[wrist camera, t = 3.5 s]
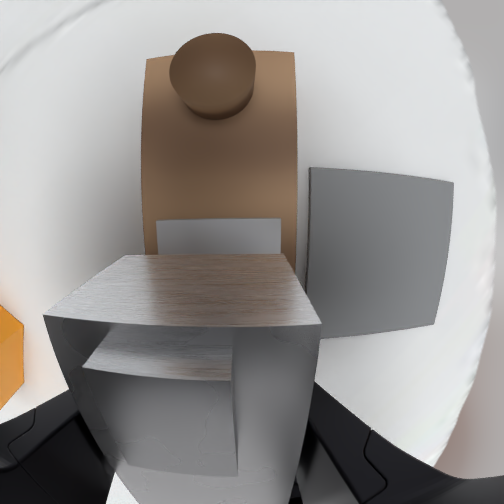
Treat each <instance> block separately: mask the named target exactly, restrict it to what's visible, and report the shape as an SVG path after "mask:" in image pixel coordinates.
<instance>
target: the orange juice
mask: <svg viewBox="0 0 504 504" xmlns="http://www.w3.org/2000/svg"><path fill="white" fill-rule="evenodd" d="M23 332H24V325H23V324H22V323H20V322H19V321H18V320H17V319H16V318H15V317H13V316H12V315H11V314H10V313H9V312H8V311H6V310H5V309H4V308H3V307H2V306H1V305H0V410H1V409H2V407H3V406H4V405H5V404H6V403H7V401H8V400H9V399H10V398H11V397H12V396H13V395H14V393H15V392H16V391H17V390H18V389H19V388H20V387H21V385H22V384H23V383H24V371H23Z"/></svg>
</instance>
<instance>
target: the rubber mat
mask: <svg viewBox="0 0 504 504" xmlns="http://www.w3.org/2000/svg"><path fill="white" fill-rule="evenodd" d="M453 191H454V183H453V182H447V181H441V180H435V179H428V178H421V177H414V176H407V175H398V174H390V173H381V172H371V171H359V170H347V169H332V168H314V167H311V168H310V192H309V234H308V259H307V278H306V295H307V297H308V299H309V301H310V303H311V304H312V306H313V308H314V310H315V312H316V314H317V316H318V317H319V319H320V321H321V323H322V327H321V336H320V339H324V338H336V337H347V336H357V335H366V334H374V333H382V332H389V331H397V330H403V329H410V328H416V327H422V326H428V325H433V324H434V322H435V318H436V314H437V310H438V305H439V301H440V296H441V292H442V287H443V281H444V276H445V270H446V264H447V258H448V251H449V243H450V234H451V224H452V211H453Z"/></svg>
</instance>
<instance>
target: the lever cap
mask: <svg viewBox="0 0 504 504" xmlns="http://www.w3.org/2000/svg"><path fill="white" fill-rule="evenodd" d="M43 317H44V321H45V324H46V328H47V331H48V334H49V337H50V340H51V343H52V346H53V349H54V352H55V355H56V357H57V360H58V363H59V365H60V368H61V371H62V373H63V375H64V378H65V380H66V383H67V385H68V387H69V390H70V392H71V394H72V396H73V398H74V401H75V403H76V405H77V407H78V409H79V411H80V413H81V415H82V417H83V419H84V421H85V423H86V424H87V426H88V428H89V430H90V432H91V434H92V435H93V437H94V439H95V441H96V442H97V444H98V446H99V447H100V449H101V451H102V452H103V454H104V455H105V457H106V459H107V460H108V462H109V463H110V465H111V466H112V468H113V469H114V471H115V472H116V474H117V475H118V477H119V478H120V479H121V481H122V482H123V484H124V485H125V486H126V488H127V489H128V490H129V492H130V493H131V494H132V496H133V497H134V498H135V499H136V501H137V502H138V503H139V504H288V503H289V499H290V495H291V491H292V488H293V484H294V480H295V476H296V472H297V467H298V463H299V459H300V454H301V450H302V445H303V440H304V435H305V430H306V425H307V420H308V415H309V409H310V404H311V398H312V392H313V386H314V379H315V373H316V366H317V359H318V352H319V344H320V336H321V327H322V323H321V321H320V319H319V317H318V316H317V314H316V312H315V310H314V308H313V306H312V304H311V303H310V301H309V299H308V297H307V295H306V293H305V292H304V290H303V288H302V286H301V284H300V282H299V281H298V279H297V277H296V275H295V273H294V271H293V270H292V268H291V266H290V264H289V262H288V261H287V259H286V257H285V255H284V254H193V255H124V256H123V257H121V258H120V259H119V260H117V261H116V262H114V263H113V264H111V265H110V266H108V267H107V268H105V269H104V270H102V271H101V272H100V273H98V274H97V275H95V276H94V277H92V278H91V279H90V280H88V281H87V282H85V283H84V284H83V285H81V286H80V287H79V288H77V289H76V290H74V291H73V292H72V293H70V294H69V295H68V296H66V297H65V298H64V299H62V300H61V301H60V302H58V303H57V304H56V305H54V306H53V307H52V308H50V309H49V310H48V311H46V312H45V313H44V314H43Z"/></svg>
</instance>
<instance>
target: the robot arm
mask: <svg viewBox="0 0 504 504" xmlns="http://www.w3.org/2000/svg"><path fill="white" fill-rule="evenodd" d="M114 473H115V471H114V469H113V468H112V466H111V465H110V463H109V462H108V460H107V459H106V457H105V455H104V454H103V452H102V451H101V449H100V447H99V446H98V444H97V442H96V441H95V439H94V437H93V435H92V434H91V432H90V430H89V428H88V426H87V424H86V423H85V421H84V419H83V417H82V415H81V413H80V411H79V409H78V407H77V405H76V403H75V401H74V398H73V396H72V394H71V392H70V390H67V391H65V392H63V393H61V394H60V395H58V396H56V397H54V398H52V399H50V400H48V401H47V402H45V403H43V404H41V405H39V406H37V407H36V408H33V409H32V410H30V411H28V412H26V413H24V414H22V415H20V416H18V417H16V418H14V419H11V420H9V421H7V422H4V423H2V424H0V504H106V501H107V497H108V494H109V490H110V487H111V483H112V480H113V476H114ZM288 504H504V475H503V476H497V477H488V478H478V479H462V478H457V477H453V476H450V475H448V474H445V473H443V472H441V471H439V470H437V469H435V468H433V467H431V466H430V465H428V464H426V463H424V462H422V461H420V460H418V459H416V458H415V457H413V456H411V455H409V454H408V453H406V452H404V451H403V450H401V449H399V448H398V447H396V446H395V445H393V444H392V443H390V442H389V441H388V440H386V439H385V438H383V437H382V436H381V435H379V434H378V433H377V432H375V431H374V430H371V428H370V427H369V426H368V425H366V424H365V423H364V422H363V421H361V420H360V419H359V418H358V417H356V416H355V415H354V414H353V413H351V412H350V411H349V410H348V409H347V408H345V407H344V406H343V405H342V404H340V403H339V402H338V401H337V400H336V399H334V398H333V397H332V396H331V395H330V394H329V393H327V392H326V391H325V390H324V389H323V388H321V387H320V386H319V385H318V384H317V383H316V382H314V386H313V392H312V398H311V404H310V409H309V415H308V420H307V425H306V430H305V435H304V440H303V445H302V450H301V454H300V459H299V463H298V467H297V472H296V476H295V480H294V484H293V488H292V491H291V495H290V499H289V503H288Z"/></svg>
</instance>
